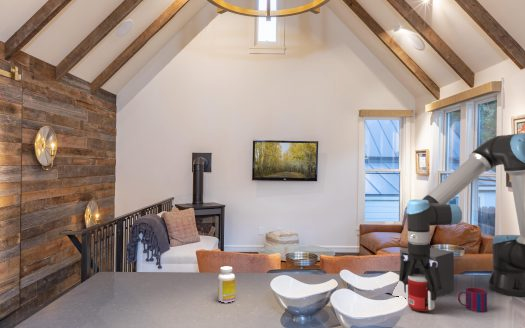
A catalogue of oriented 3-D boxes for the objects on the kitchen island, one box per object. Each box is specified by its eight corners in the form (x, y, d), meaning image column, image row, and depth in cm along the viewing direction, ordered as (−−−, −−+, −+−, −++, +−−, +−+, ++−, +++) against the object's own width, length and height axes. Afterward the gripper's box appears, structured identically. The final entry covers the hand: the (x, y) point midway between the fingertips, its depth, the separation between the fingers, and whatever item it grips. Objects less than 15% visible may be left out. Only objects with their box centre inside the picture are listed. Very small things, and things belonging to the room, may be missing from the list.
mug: (490, 312, 133) (490, 293, 133) (461, 312, 134) (461, 292, 134) (481, 305, 140) (481, 287, 140) (453, 305, 141) (453, 286, 141)
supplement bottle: (238, 300, 146) (238, 267, 146) (226, 305, 142) (225, 271, 142) (227, 296, 151) (227, 264, 151) (214, 301, 146) (214, 267, 146)
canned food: (430, 313, 131) (429, 281, 131) (406, 308, 135) (405, 278, 135) (433, 305, 137) (433, 275, 137) (410, 302, 142) (409, 272, 142)
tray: (438, 294, 151) (438, 279, 151) (417, 303, 142) (417, 287, 142) (404, 285, 163) (404, 271, 163) (383, 292, 154) (383, 277, 154)
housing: (453, 290, 157) (453, 252, 157) (436, 297, 149) (435, 256, 149) (418, 281, 170) (418, 245, 170) (400, 287, 162) (399, 249, 162)
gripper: (387, 239, 142) (389, 299, 142) (441, 248, 126) (442, 316, 126) (399, 237, 147) (400, 295, 147) (452, 245, 130) (454, 311, 130)
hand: (420, 305), depth 136 cm, fingers closed on canned food, 8 cm apart
